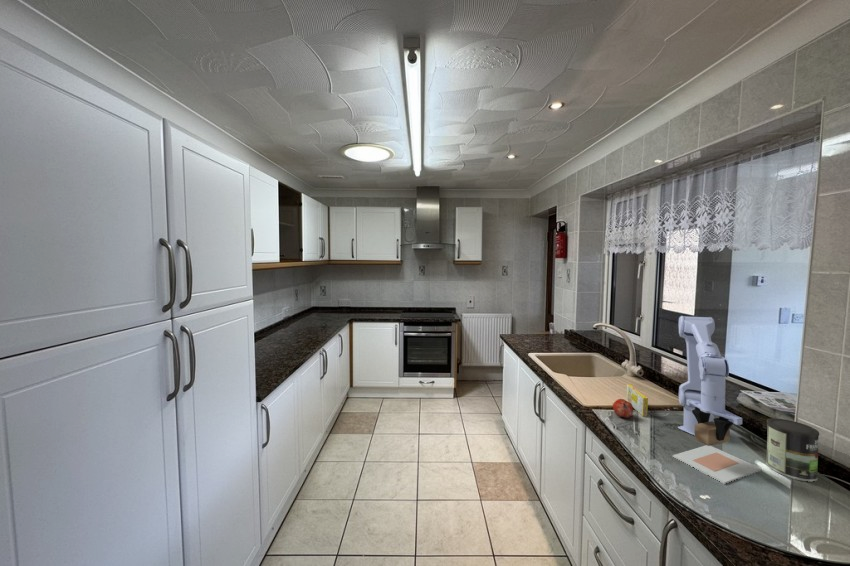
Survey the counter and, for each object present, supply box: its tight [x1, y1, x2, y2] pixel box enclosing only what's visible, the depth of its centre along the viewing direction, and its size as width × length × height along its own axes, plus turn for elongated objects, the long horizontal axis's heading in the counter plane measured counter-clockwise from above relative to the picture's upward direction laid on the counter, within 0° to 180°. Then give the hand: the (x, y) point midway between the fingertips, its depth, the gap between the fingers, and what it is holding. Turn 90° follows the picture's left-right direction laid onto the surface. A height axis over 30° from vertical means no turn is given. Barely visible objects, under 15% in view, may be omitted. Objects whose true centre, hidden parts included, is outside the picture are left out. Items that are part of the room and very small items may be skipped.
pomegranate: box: [612, 398, 634, 419], centre depth 132 cm, size 7×7×10 cm
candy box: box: [625, 383, 649, 418], centre depth 139 cm, size 16×2×8 cm, turn 168°
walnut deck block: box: [694, 421, 731, 446], centre depth 100 cm, size 4×9×5 cm, turn 103°
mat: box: [672, 444, 763, 485], centre depth 99 cm, size 18×14×1 cm
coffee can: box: [766, 417, 820, 483], centre depth 95 cm, size 10×10×14 cm
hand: (712, 436), depth 100 cm, fingers closed on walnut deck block, 4 cm apart
